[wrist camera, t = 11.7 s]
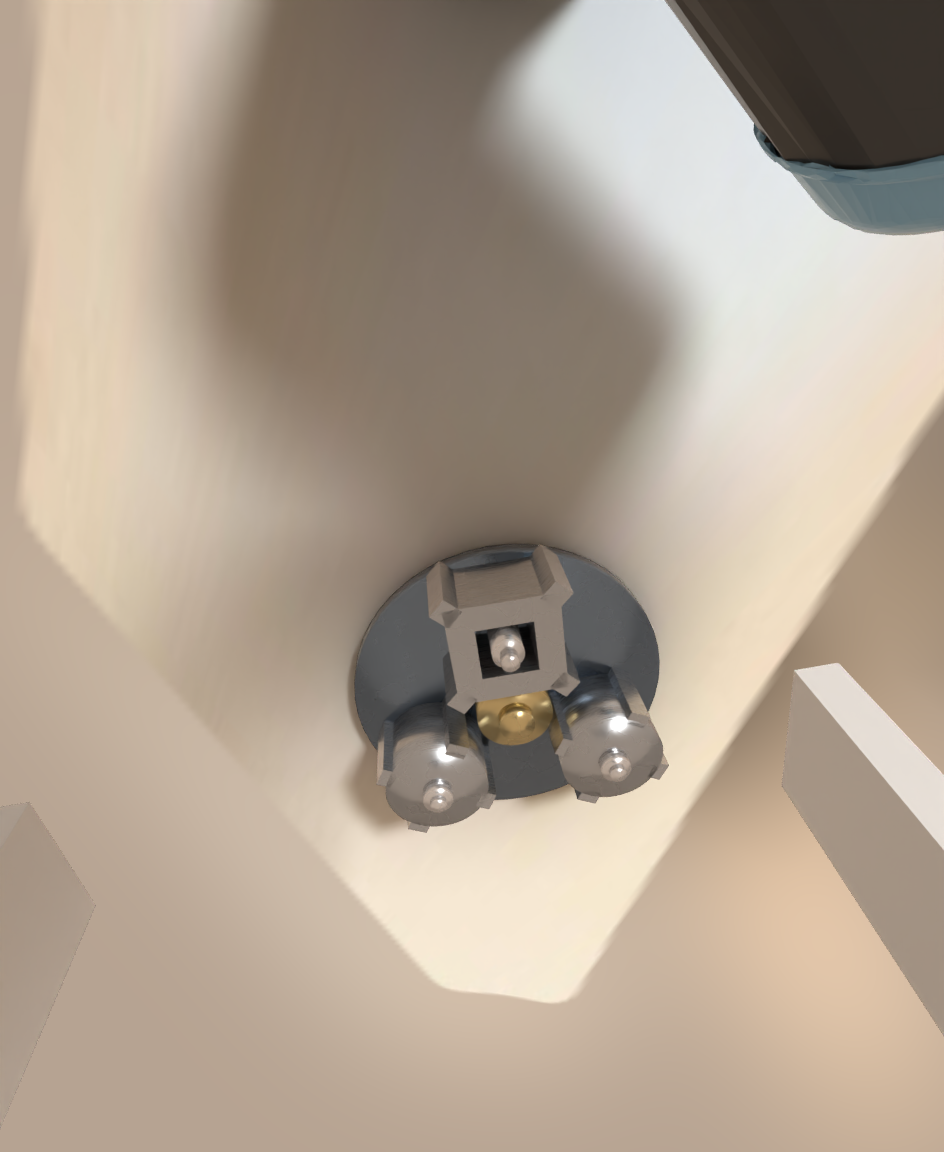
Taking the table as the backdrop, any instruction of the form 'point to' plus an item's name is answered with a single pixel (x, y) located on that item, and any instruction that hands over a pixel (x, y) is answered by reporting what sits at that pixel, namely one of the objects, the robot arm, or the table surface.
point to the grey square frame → (495, 602)
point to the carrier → (510, 703)
